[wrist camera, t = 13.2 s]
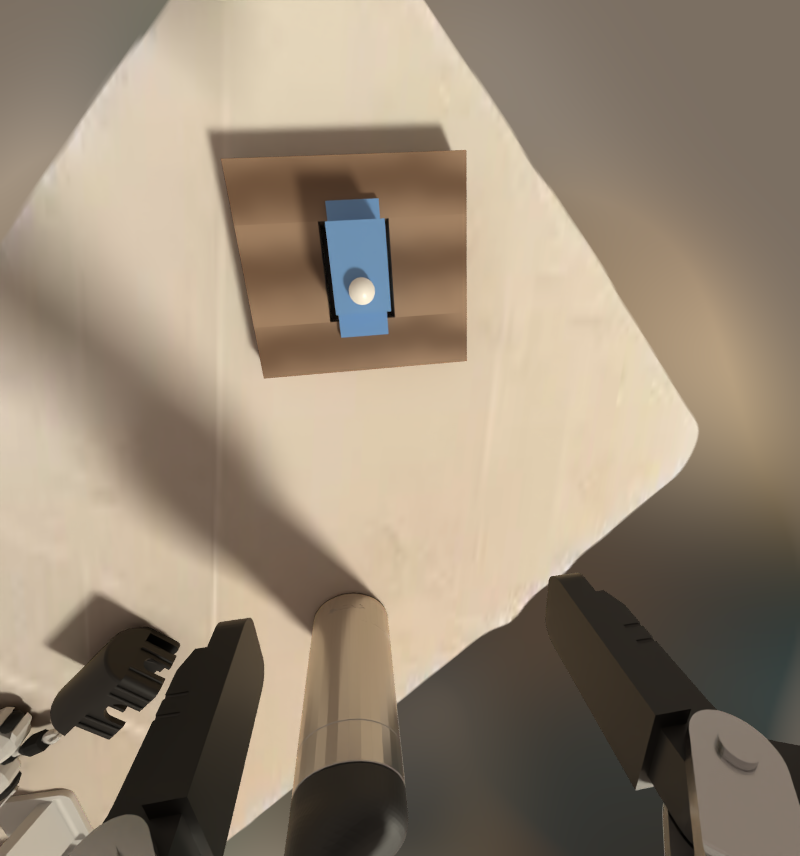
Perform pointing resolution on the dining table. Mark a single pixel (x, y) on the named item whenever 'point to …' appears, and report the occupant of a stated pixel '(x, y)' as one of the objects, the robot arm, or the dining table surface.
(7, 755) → the robot toy
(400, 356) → the board
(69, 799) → the phone holder
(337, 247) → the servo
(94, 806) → the dining table surface
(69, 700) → the end cap
